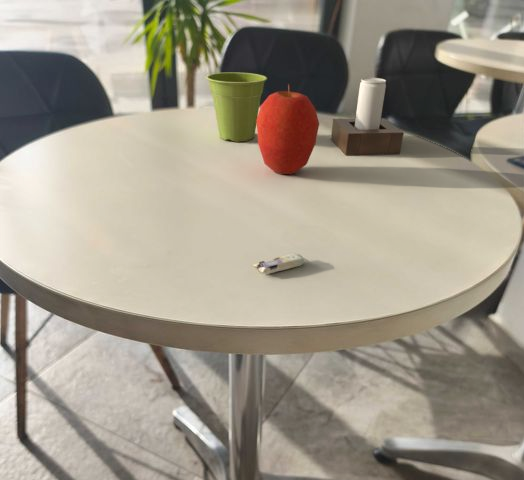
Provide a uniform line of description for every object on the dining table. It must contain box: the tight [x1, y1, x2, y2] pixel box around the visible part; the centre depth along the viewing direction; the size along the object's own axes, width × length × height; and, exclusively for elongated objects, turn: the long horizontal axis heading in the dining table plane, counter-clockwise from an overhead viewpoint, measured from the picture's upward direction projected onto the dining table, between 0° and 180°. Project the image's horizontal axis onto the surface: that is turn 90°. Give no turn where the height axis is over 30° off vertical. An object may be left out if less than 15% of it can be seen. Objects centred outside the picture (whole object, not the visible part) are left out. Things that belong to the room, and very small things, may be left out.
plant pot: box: [205, 71, 268, 143], centre depth 99 cm, size 12×12×11 cm
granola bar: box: [251, 253, 310, 275], centre depth 59 cm, size 7×2×1 cm, turn 118°
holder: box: [330, 117, 405, 156], centre depth 99 cm, size 11×11×4 cm
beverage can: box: [354, 77, 387, 130], centre depth 96 cm, size 5×5×12 cm
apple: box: [256, 84, 320, 175], centre depth 82 cm, size 10×10×14 cm
